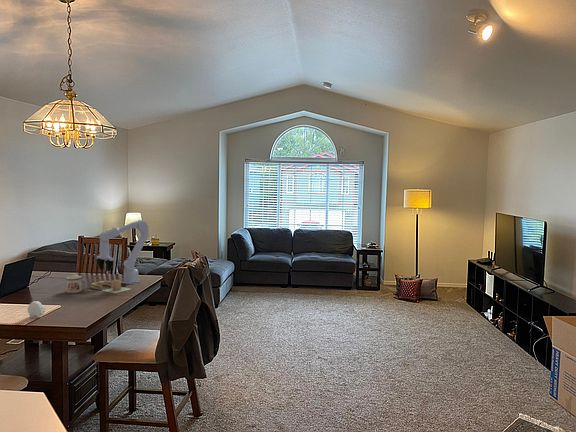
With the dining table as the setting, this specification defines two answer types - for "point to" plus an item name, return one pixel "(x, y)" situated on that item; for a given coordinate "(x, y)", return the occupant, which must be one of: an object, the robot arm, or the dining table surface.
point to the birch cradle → (99, 285)
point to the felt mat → (117, 290)
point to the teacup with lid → (74, 283)
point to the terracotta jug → (116, 285)
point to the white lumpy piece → (35, 309)
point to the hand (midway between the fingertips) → (105, 270)
